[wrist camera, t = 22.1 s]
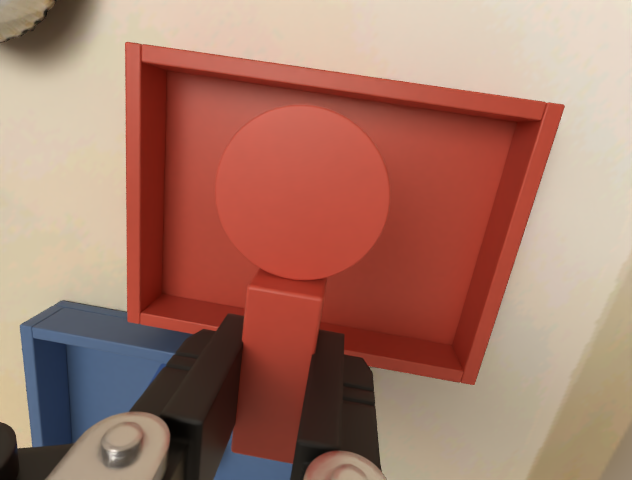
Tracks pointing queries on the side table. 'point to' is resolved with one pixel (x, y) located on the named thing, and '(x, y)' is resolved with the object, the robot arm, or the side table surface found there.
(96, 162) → the side table surface
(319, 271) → the red spoon
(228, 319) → the robot arm
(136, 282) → the red tray
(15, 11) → the seashell
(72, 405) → the blue tray
